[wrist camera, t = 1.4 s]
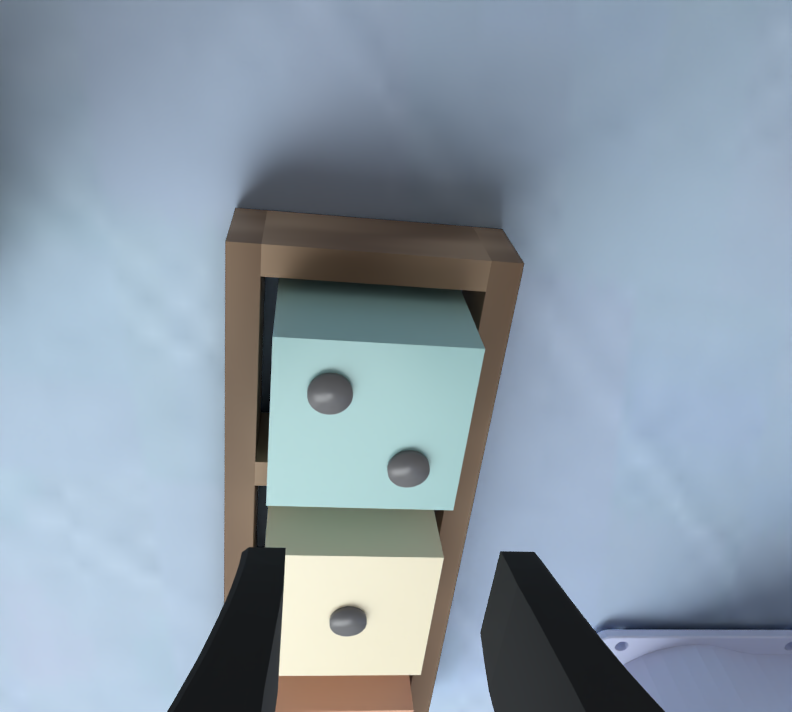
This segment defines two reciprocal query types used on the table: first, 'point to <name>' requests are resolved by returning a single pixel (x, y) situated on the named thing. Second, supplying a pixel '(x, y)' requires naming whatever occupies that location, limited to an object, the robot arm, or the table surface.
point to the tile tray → (371, 264)
